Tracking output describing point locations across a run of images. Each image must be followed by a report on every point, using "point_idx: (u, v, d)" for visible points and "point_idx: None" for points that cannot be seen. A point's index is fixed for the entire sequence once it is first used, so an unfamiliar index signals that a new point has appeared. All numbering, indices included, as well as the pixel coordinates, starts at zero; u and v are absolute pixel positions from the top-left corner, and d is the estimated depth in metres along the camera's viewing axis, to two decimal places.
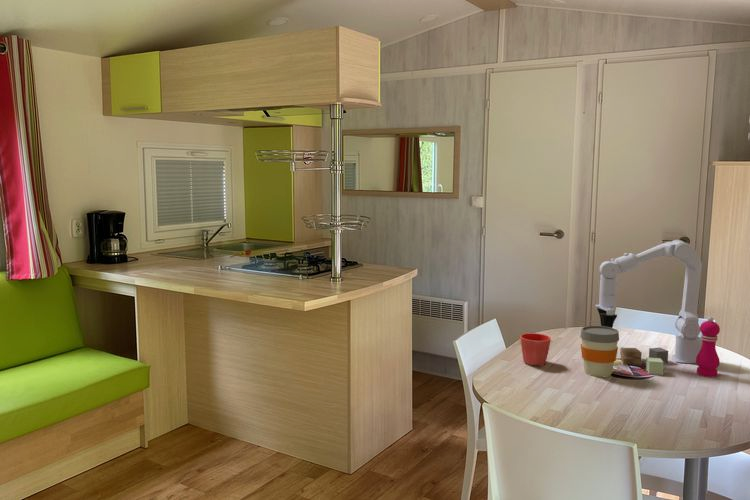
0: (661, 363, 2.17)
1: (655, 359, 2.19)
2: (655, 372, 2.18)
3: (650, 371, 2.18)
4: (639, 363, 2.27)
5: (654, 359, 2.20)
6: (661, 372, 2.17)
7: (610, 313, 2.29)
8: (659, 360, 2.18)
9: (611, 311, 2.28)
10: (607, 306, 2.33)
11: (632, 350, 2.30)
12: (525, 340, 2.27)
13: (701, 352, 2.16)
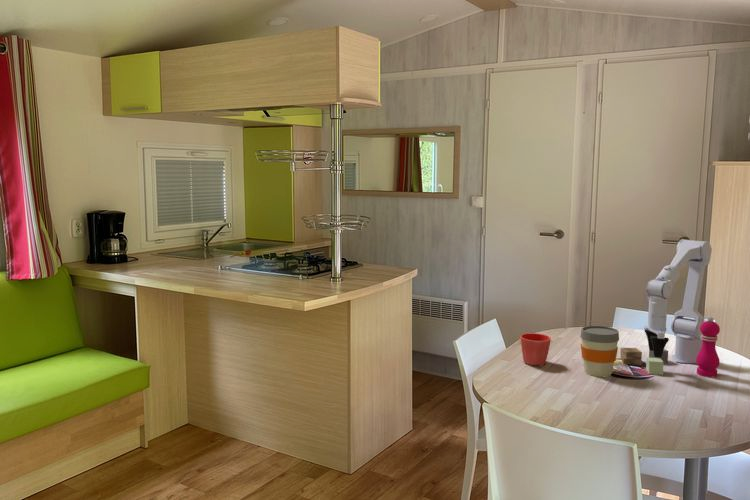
0: (661, 363, 2.17)
1: (655, 359, 2.19)
2: (655, 372, 2.18)
3: (650, 371, 2.18)
4: (639, 363, 2.27)
5: (654, 359, 2.20)
6: (661, 372, 2.17)
7: (661, 336, 2.11)
8: (659, 360, 2.18)
9: (663, 334, 2.11)
10: (657, 328, 2.15)
11: (632, 350, 2.30)
12: (525, 340, 2.27)
13: (701, 352, 2.16)
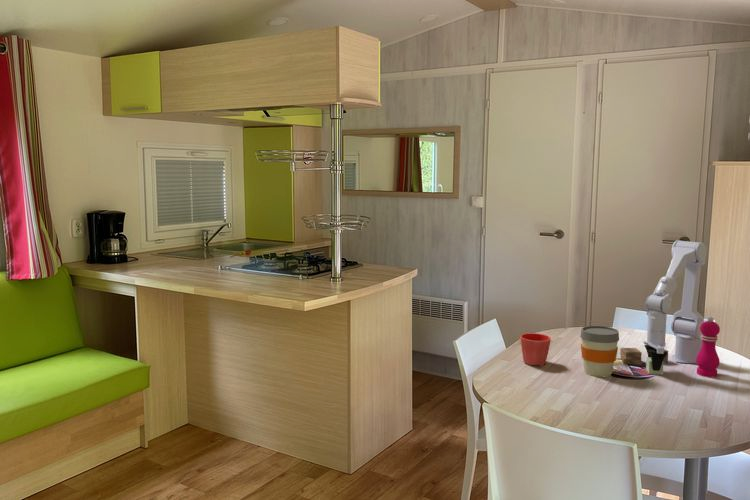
0: None
1: None
2: (655, 372, 2.18)
3: (650, 371, 2.18)
4: (639, 363, 2.27)
5: None
6: (661, 372, 2.17)
7: (661, 351, 2.11)
8: None
9: (662, 349, 2.11)
10: (656, 343, 2.16)
11: (632, 350, 2.29)
12: (525, 340, 2.27)
13: (701, 352, 2.16)
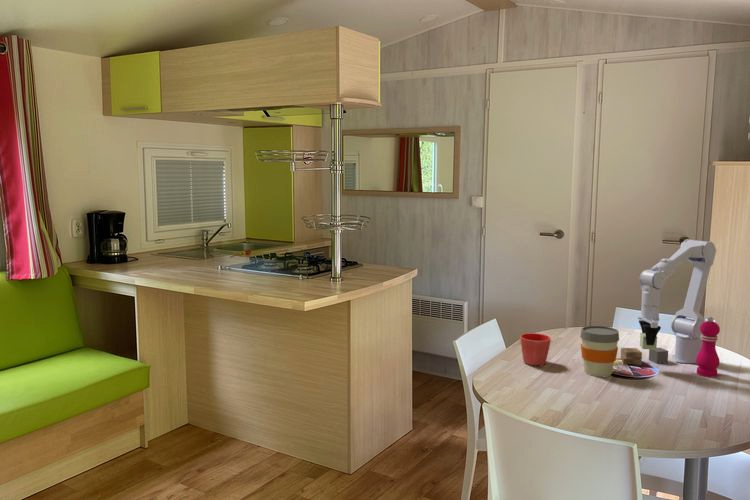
0: None
1: None
2: (649, 347, 2.20)
3: (644, 346, 2.20)
4: (639, 363, 2.27)
5: None
6: (655, 347, 2.19)
7: (655, 326, 2.14)
8: None
9: (656, 323, 2.13)
10: (650, 318, 2.18)
11: (632, 350, 2.29)
12: (525, 340, 2.27)
13: (701, 352, 2.16)
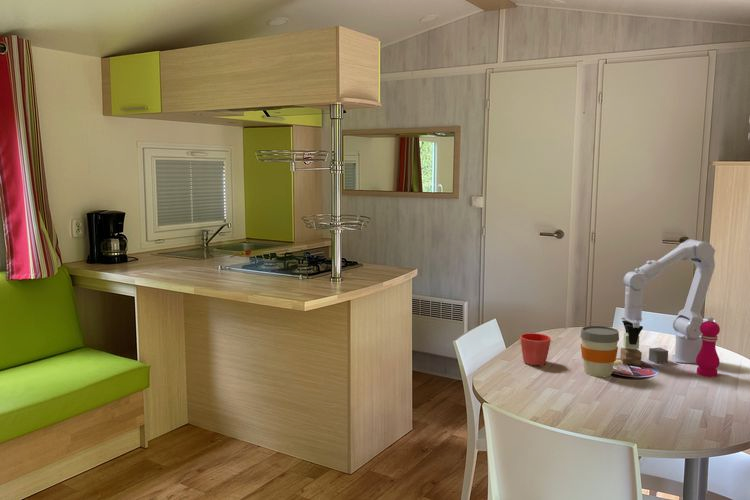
0: None
1: None
2: (631, 346, 2.28)
3: (627, 345, 2.28)
4: (639, 363, 2.27)
5: None
6: (637, 346, 2.27)
7: (637, 325, 2.22)
8: None
9: (638, 323, 2.21)
10: (633, 318, 2.26)
11: (632, 350, 2.29)
12: (525, 340, 2.27)
13: (701, 352, 2.16)
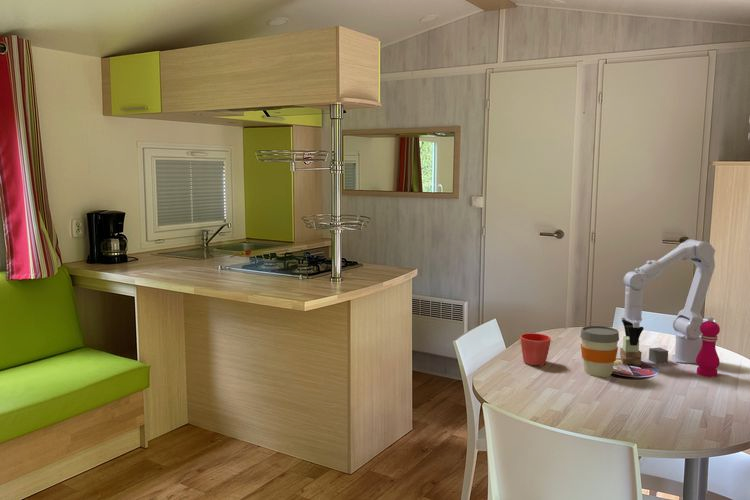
0: None
1: None
2: (631, 350, 2.28)
3: (626, 349, 2.28)
4: (639, 363, 2.27)
5: None
6: (637, 350, 2.27)
7: (636, 325, 2.22)
8: None
9: (638, 323, 2.21)
10: (633, 318, 2.26)
11: None
12: (525, 340, 2.27)
13: (701, 352, 2.16)
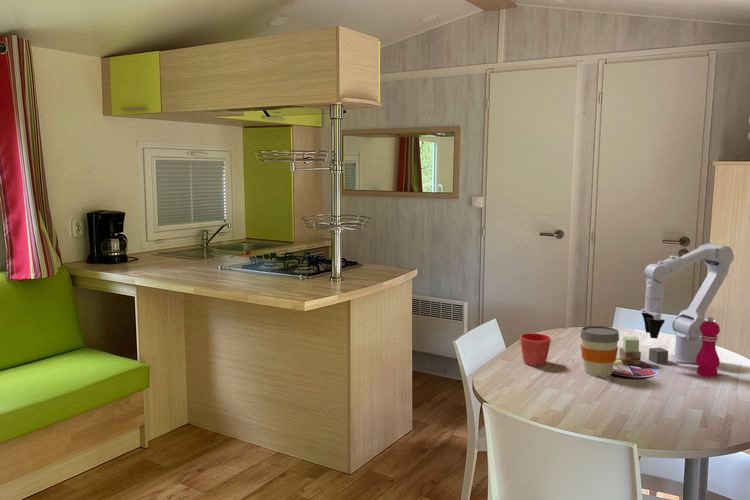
0: (637, 341, 2.27)
1: (631, 338, 2.29)
2: (631, 350, 2.28)
3: (626, 349, 2.28)
4: (638, 363, 2.27)
5: (630, 338, 2.30)
6: (637, 350, 2.27)
7: (658, 318, 2.20)
8: (635, 338, 2.29)
9: (659, 316, 2.19)
10: (654, 311, 2.24)
11: None
12: (525, 340, 2.27)
13: (701, 352, 2.16)
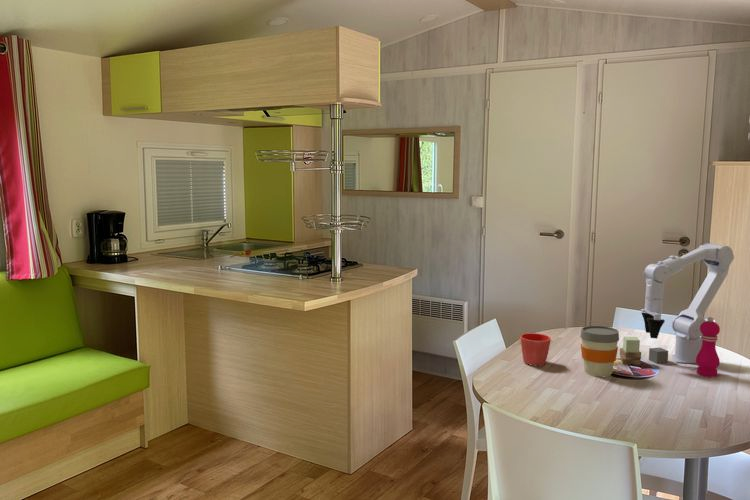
0: (637, 341, 2.27)
1: (632, 338, 2.29)
2: (632, 350, 2.28)
3: (627, 349, 2.28)
4: (638, 363, 2.27)
5: (630, 338, 2.30)
6: (637, 350, 2.27)
7: (658, 318, 2.20)
8: (635, 339, 2.28)
9: (659, 316, 2.19)
10: (654, 311, 2.24)
11: None
12: (525, 340, 2.27)
13: (701, 352, 2.16)
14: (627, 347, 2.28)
